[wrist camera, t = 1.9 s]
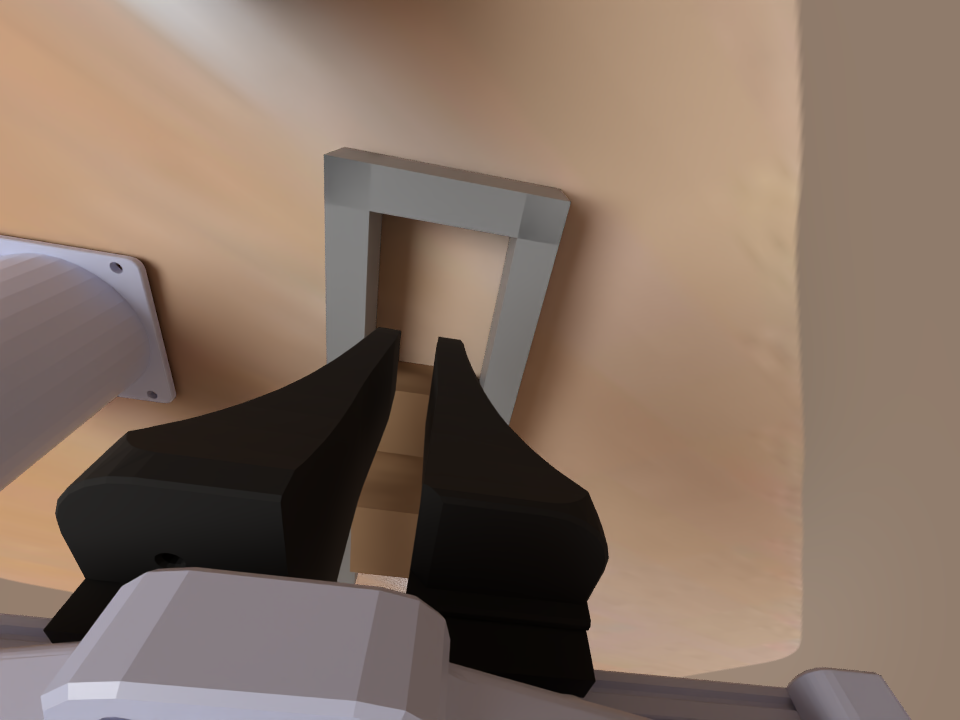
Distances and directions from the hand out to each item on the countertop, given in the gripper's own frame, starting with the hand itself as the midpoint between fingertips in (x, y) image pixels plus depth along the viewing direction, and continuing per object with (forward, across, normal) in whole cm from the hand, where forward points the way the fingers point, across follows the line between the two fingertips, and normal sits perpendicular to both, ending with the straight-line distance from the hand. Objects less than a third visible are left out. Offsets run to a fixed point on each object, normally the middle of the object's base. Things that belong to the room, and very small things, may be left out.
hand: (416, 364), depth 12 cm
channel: (+8, 0, +10) cm, 13 cm away
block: (+8, 0, +10) cm, 13 cm away
